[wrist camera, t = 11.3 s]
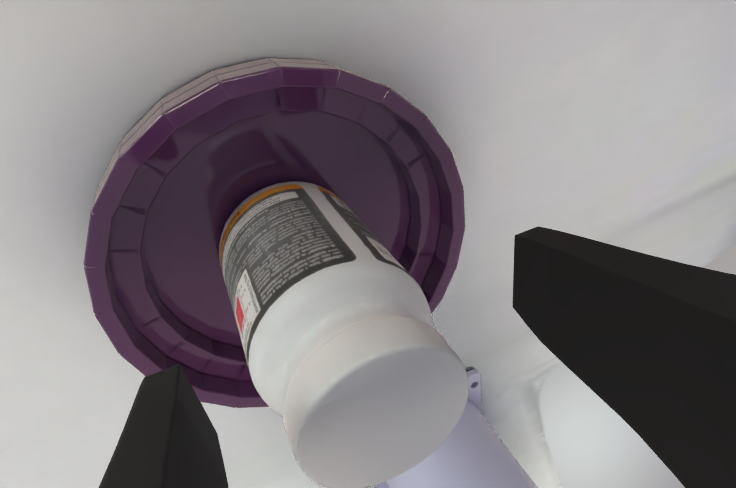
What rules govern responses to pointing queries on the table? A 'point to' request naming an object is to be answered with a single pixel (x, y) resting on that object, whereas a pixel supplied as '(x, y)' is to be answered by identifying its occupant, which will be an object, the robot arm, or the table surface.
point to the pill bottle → (337, 337)
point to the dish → (236, 183)
